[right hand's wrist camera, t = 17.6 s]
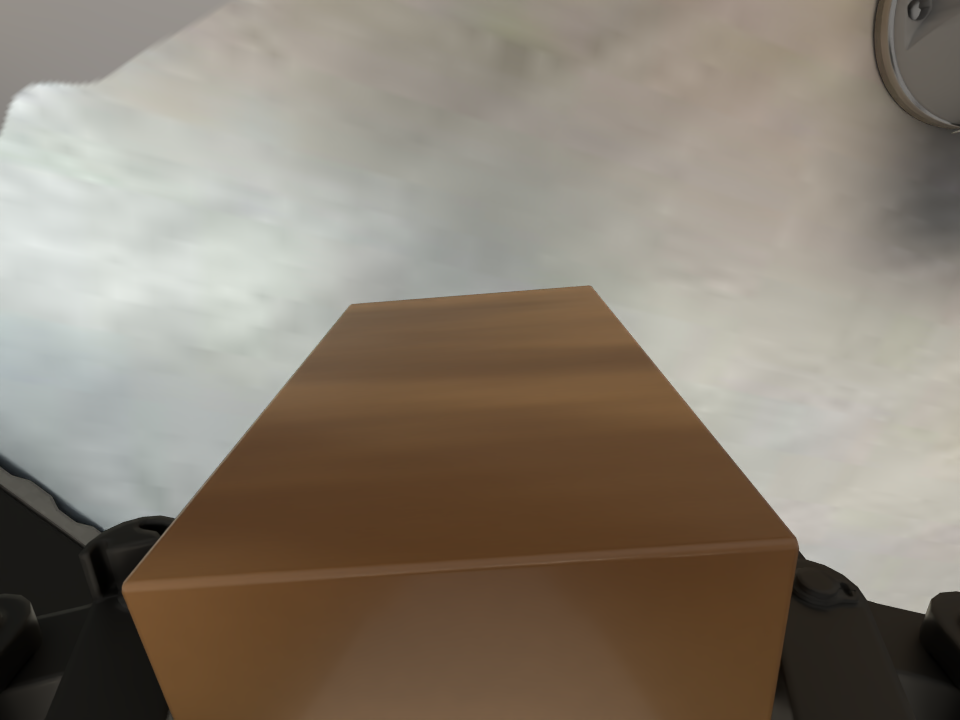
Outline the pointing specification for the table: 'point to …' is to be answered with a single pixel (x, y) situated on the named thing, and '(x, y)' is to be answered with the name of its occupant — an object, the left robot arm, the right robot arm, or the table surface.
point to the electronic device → (40, 548)
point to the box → (471, 535)
